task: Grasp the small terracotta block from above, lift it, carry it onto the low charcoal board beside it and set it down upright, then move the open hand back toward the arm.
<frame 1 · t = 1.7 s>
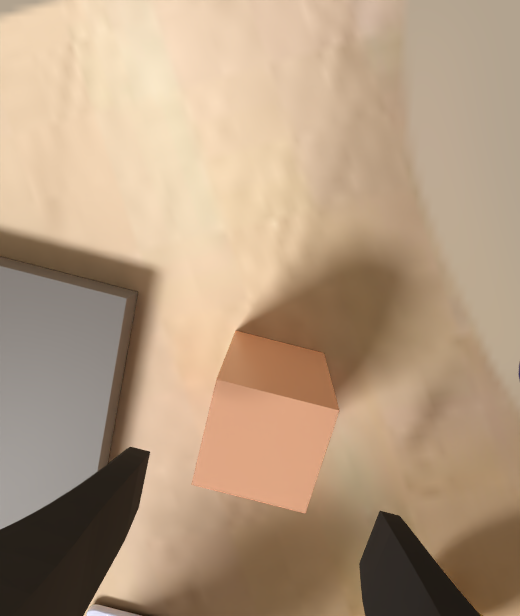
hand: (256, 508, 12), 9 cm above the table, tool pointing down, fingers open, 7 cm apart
terracotta block: (268, 382, 21), on the table
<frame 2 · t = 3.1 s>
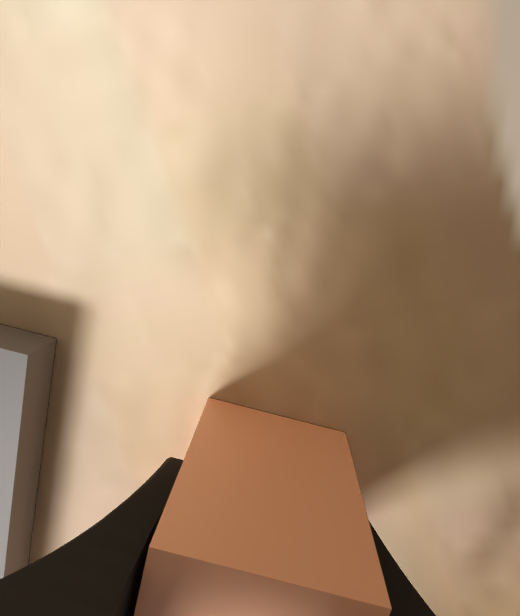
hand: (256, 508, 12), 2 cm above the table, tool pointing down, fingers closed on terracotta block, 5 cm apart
terracotta block: (260, 474, 14), on the table, touching gripper
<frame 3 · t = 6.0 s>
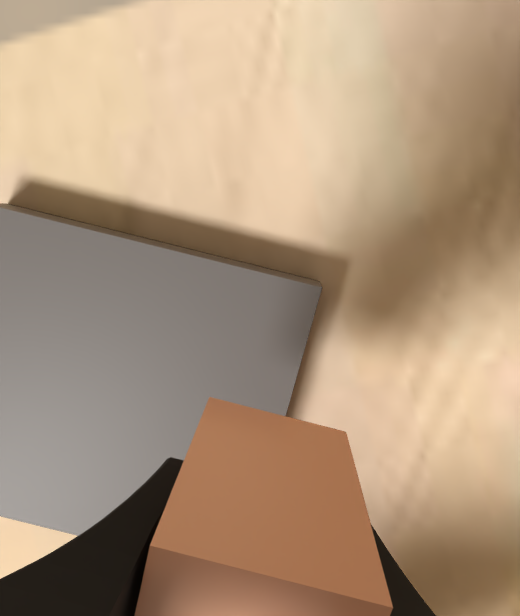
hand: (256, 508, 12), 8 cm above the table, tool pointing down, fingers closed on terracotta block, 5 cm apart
terracotta block: (260, 473, 14), point 7 cm above the table, touching gripper
shelf board: (136, 394, 21), on the table
when the fingers open (4 cm above the table, at t = 9.1 s): terracotta block stays where it is, resting on shelf board.
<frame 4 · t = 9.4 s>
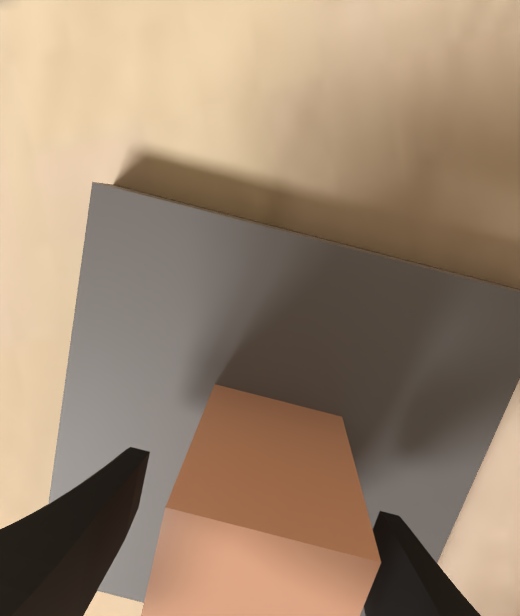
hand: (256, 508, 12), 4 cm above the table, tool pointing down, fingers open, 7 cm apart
terracotta block: (262, 456, 15), point 1 cm above the table, touching shelf board
shelf board: (263, 434, 16), on the table
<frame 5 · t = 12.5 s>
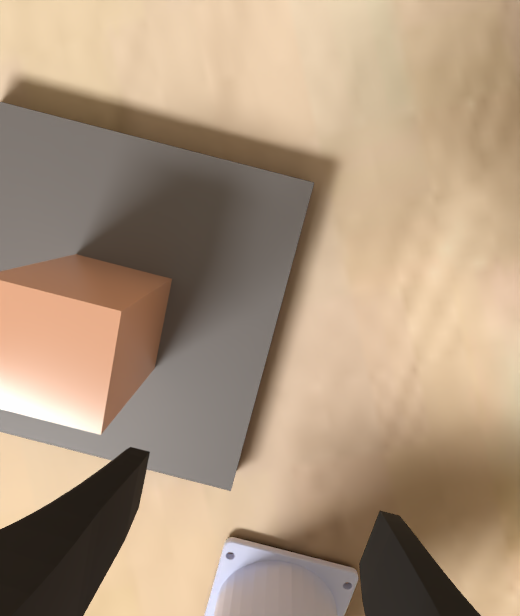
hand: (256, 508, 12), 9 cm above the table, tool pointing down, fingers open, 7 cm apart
terracotta block: (116, 312, 19), point 1 cm above the table, touching shelf board
shelf board: (127, 306, 21), on the table
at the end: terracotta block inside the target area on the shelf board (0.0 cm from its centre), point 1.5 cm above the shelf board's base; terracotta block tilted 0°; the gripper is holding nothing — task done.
